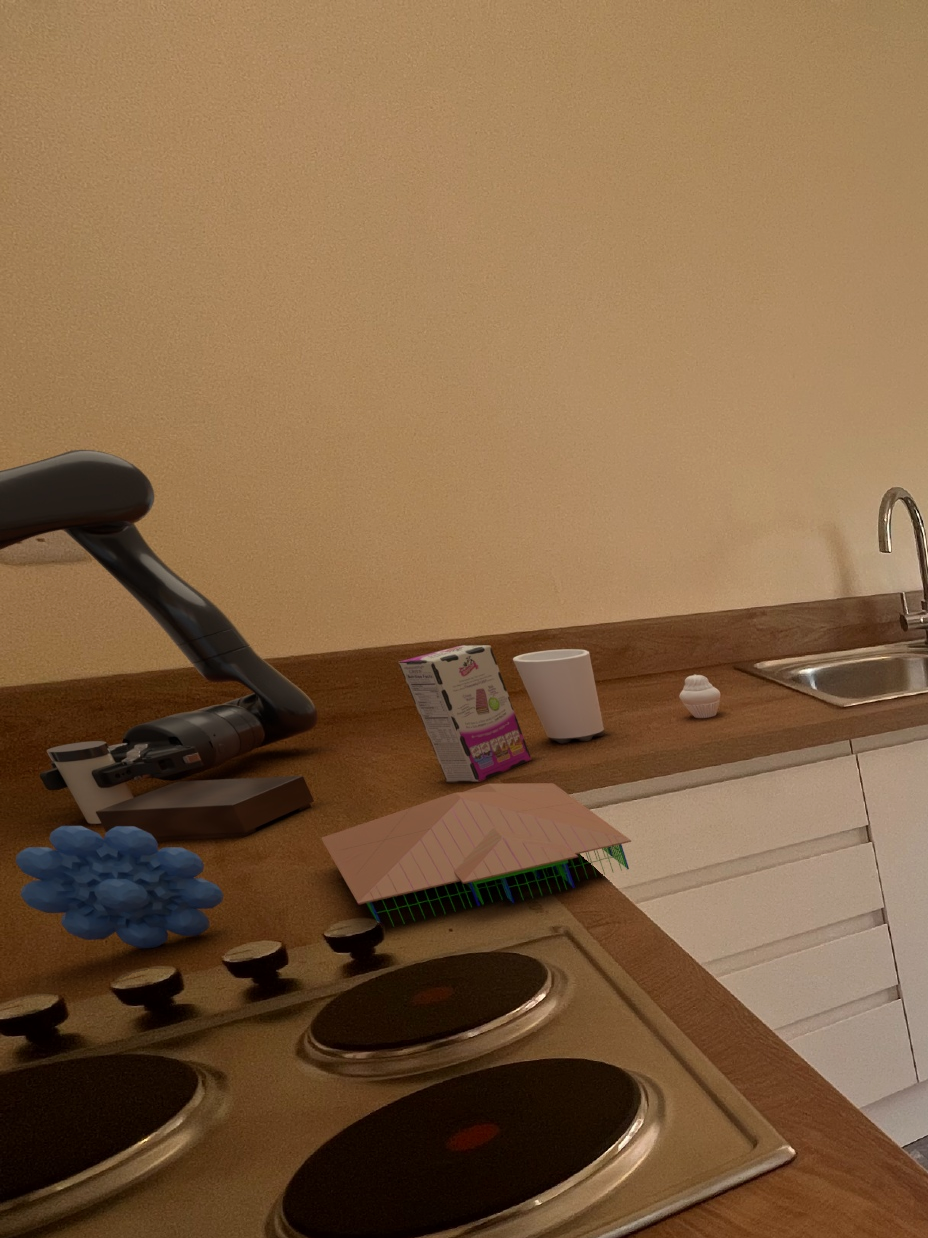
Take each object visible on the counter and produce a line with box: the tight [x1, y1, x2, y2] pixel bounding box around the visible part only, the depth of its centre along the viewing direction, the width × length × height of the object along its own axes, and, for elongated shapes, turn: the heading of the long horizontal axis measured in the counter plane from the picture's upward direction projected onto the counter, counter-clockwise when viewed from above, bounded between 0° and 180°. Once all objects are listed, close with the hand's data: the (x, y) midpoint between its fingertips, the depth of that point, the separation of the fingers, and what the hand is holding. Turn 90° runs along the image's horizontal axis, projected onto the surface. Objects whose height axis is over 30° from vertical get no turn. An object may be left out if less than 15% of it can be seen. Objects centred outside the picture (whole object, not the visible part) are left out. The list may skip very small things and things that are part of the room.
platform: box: [96, 775, 315, 842], centre depth 125 cm, size 14×12×4 cm
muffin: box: [678, 673, 721, 719], centre depth 173 cm, size 6×6×7 cm
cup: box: [512, 648, 605, 744], centre depth 159 cm, size 10×10×13 cm
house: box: [320, 782, 632, 927], centre depth 111 cm, size 23×33×8 cm
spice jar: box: [46, 740, 134, 825], centre depth 126 cm, size 5×5×9 cm
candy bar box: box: [397, 644, 532, 783], centre depth 142 cm, size 11×5×16 cm, turn 179°
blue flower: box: [15, 825, 224, 949], centre depth 91 cm, size 12×7×12 cm, turn 134°
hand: (73, 781), depth 124 cm, fingers closed on spice jar, 4 cm apart
